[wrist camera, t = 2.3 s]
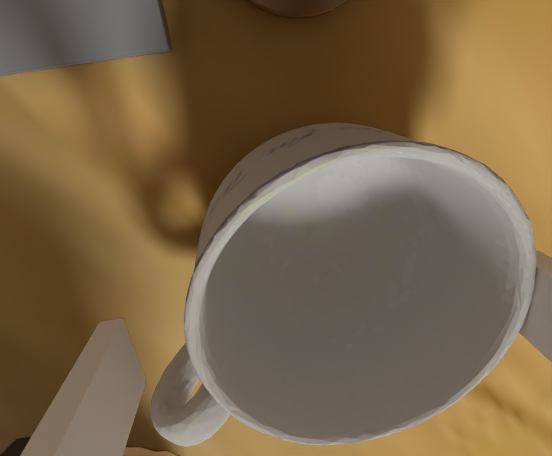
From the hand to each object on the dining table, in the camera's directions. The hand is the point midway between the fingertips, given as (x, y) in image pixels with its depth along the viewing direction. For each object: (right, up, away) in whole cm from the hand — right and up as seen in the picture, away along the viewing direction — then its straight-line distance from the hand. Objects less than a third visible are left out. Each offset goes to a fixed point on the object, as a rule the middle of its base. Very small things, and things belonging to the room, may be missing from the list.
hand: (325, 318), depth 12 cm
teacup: (-1, +3, +6) cm, 7 cm away
